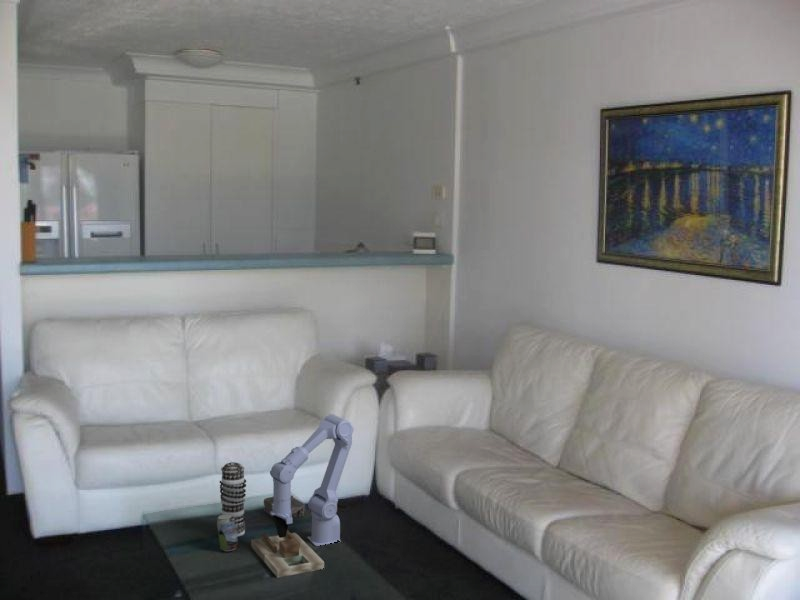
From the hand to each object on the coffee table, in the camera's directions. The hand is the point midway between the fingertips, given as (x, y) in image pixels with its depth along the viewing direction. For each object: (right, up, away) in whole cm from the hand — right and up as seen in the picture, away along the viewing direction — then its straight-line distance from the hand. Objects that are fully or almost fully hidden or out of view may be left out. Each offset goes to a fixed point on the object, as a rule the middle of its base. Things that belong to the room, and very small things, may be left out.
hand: (282, 536), depth 326 cm
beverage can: (-19, -5, +1) cm, 19 cm away
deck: (+2, -6, -4) cm, 7 cm away
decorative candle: (-19, -3, +16) cm, 25 cm away
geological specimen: (-4, 0, +34) cm, 35 cm away
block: (+3, -4, -6) cm, 8 cm away
